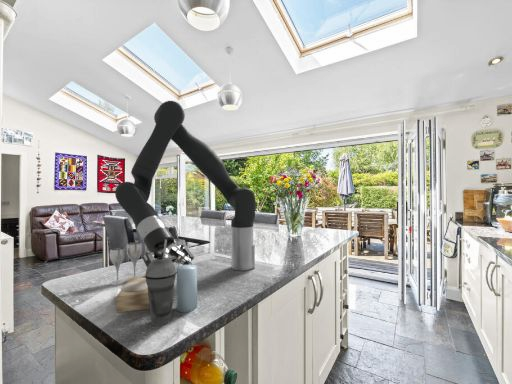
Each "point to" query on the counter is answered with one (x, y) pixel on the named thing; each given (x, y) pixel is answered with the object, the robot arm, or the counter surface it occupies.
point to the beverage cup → (160, 288)
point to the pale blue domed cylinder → (186, 288)
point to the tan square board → (133, 295)
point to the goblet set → (132, 256)
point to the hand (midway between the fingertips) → (182, 279)
